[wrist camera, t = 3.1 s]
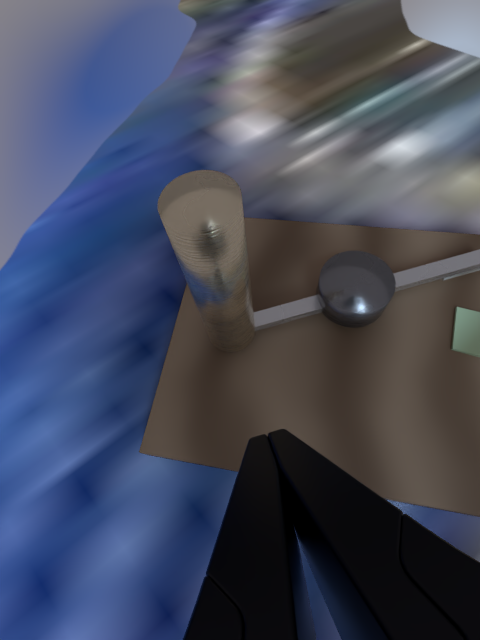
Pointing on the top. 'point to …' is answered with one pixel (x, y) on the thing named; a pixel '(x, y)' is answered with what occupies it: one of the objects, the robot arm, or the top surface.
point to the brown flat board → (338, 370)
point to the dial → (234, 278)
